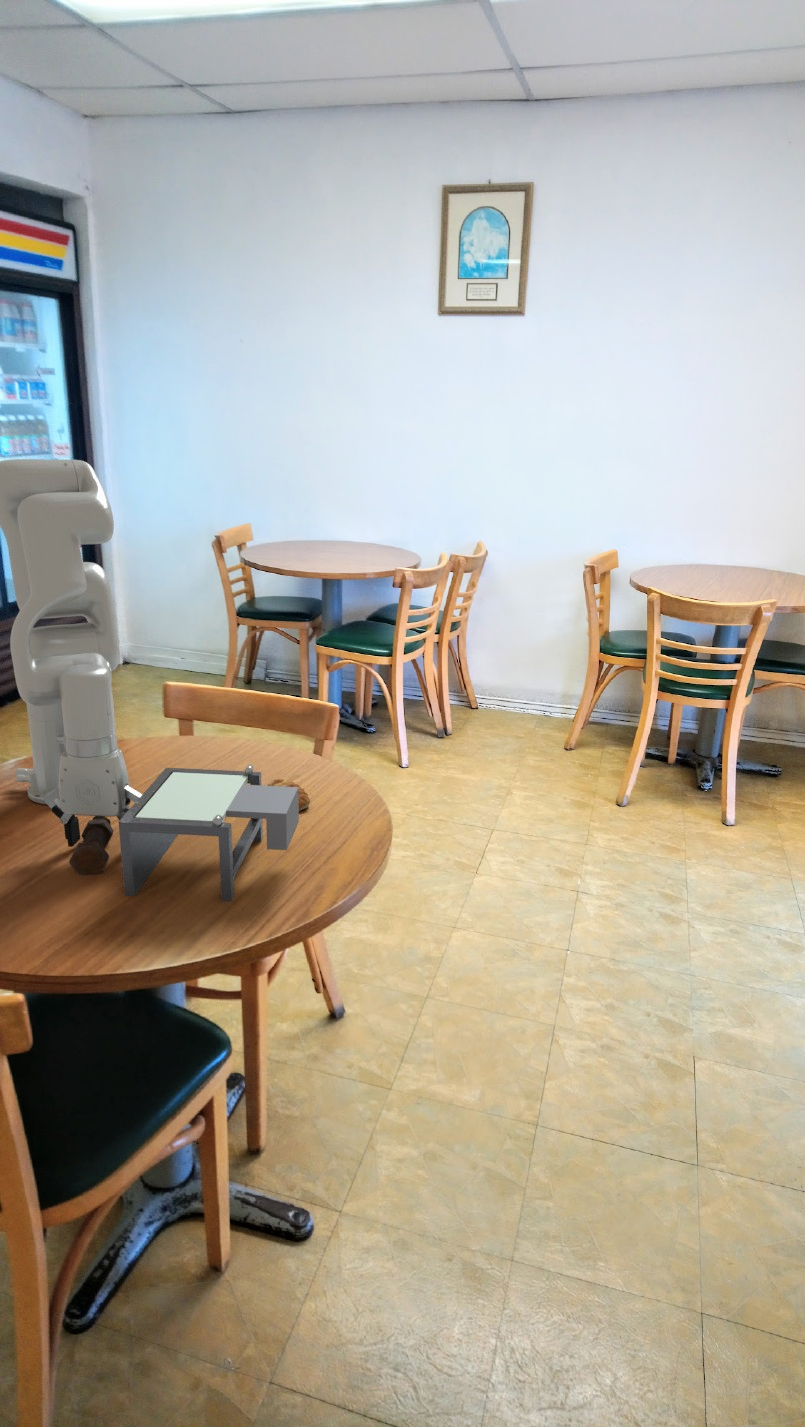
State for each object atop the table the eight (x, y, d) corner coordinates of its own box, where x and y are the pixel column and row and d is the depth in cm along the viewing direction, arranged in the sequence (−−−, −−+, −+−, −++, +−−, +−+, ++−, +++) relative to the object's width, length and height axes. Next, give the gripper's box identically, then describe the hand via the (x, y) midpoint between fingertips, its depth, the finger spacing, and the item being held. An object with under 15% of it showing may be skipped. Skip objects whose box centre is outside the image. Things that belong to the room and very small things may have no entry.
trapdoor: (138, 854, 128) (135, 817, 126) (175, 805, 144) (173, 772, 142) (281, 861, 126) (281, 824, 125) (302, 812, 143) (302, 778, 141)
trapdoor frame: (124, 895, 128) (117, 814, 124) (170, 832, 148) (165, 760, 144) (231, 901, 127) (228, 819, 123) (263, 837, 147) (260, 765, 143)
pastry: (319, 806, 160) (319, 787, 159) (291, 817, 155) (290, 798, 154) (287, 791, 166) (286, 773, 165) (258, 802, 161) (258, 783, 160)
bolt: (107, 842, 148) (95, 883, 134) (79, 830, 147) (64, 870, 133) (123, 814, 147) (112, 852, 133) (94, 802, 146) (81, 839, 132)
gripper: (25, 749, 132) (38, 852, 138) (137, 754, 131) (145, 858, 137) (48, 733, 139) (59, 831, 145) (154, 738, 138) (161, 836, 144)
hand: (100, 844), depth 141 cm, fingers open, 8 cm apart
